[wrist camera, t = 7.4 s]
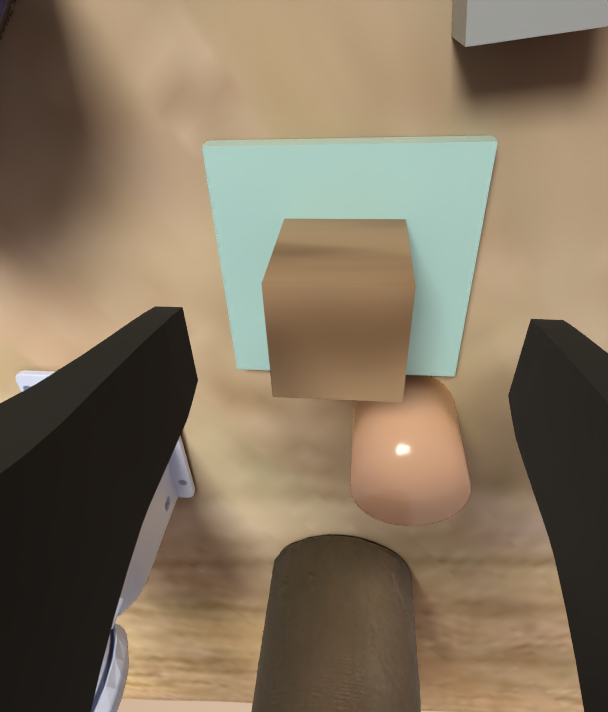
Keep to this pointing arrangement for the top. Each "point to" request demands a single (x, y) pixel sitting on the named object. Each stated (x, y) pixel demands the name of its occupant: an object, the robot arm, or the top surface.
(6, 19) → the flask
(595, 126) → the top surface
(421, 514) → the peach domed cylinder
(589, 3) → the grey square block
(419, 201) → the coaster
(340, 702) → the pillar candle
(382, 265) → the walnut block
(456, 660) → the top surface
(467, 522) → the top surface
